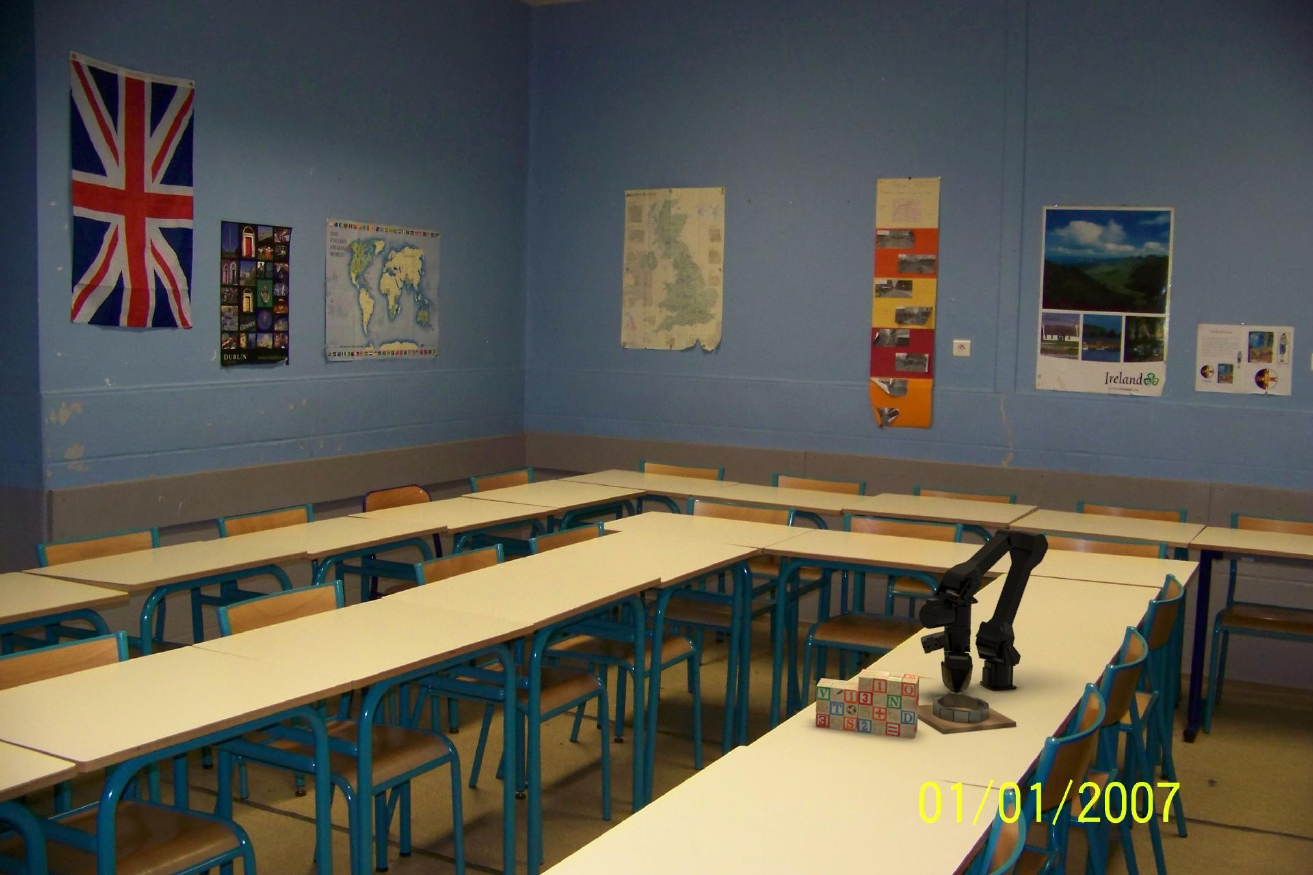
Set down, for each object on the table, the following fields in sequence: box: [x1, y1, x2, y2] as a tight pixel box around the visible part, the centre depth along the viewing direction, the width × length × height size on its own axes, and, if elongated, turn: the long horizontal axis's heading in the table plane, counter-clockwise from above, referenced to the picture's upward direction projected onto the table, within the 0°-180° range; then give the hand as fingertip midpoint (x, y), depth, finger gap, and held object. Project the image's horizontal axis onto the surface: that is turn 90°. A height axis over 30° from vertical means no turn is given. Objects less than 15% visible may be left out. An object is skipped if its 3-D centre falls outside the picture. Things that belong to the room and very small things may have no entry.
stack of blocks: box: [815, 668, 920, 739], centre depth 255 cm, size 21×6×12 cm, turn 71°
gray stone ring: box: [932, 694, 990, 723], centre depth 262 cm, size 12×12×2 cm
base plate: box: [918, 703, 1017, 735], centre depth 263 cm, size 18×16×1 cm
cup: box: [940, 659, 974, 696], centre depth 279 cm, size 8×7×8 cm
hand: (956, 688), depth 279 cm, fingers closed on cup, 6 cm apart
